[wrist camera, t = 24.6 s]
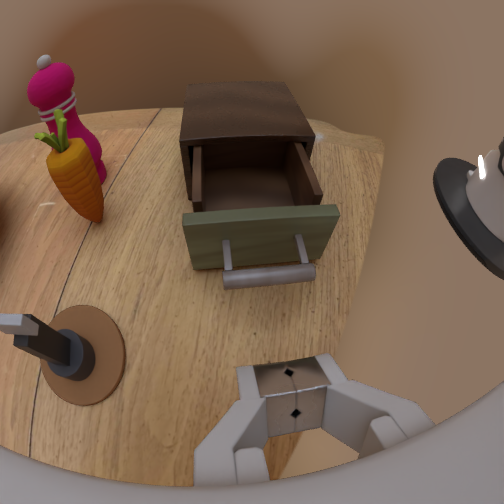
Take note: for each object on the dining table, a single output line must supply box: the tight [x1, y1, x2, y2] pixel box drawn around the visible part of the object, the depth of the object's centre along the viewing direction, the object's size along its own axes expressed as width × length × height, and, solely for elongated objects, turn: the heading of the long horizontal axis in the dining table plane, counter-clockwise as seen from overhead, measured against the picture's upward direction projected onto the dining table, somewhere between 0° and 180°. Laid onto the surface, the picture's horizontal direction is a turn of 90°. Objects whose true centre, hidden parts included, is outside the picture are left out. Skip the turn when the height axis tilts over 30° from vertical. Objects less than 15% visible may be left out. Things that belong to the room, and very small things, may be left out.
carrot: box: [34, 109, 104, 222], centre depth 23 cm, size 5×5×15 cm
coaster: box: [40, 305, 125, 406], centre depth 21 cm, size 10×10×1 cm
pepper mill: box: [27, 55, 106, 184], centre depth 25 cm, size 7×7×20 cm
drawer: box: [182, 141, 340, 290], centre depth 26 cm, size 18×12×7 cm
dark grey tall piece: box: [0, 314, 95, 381], centre depth 16 cm, size 4×4×10 cm
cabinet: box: [179, 81, 316, 200], centre depth 33 cm, size 15×14×9 cm
